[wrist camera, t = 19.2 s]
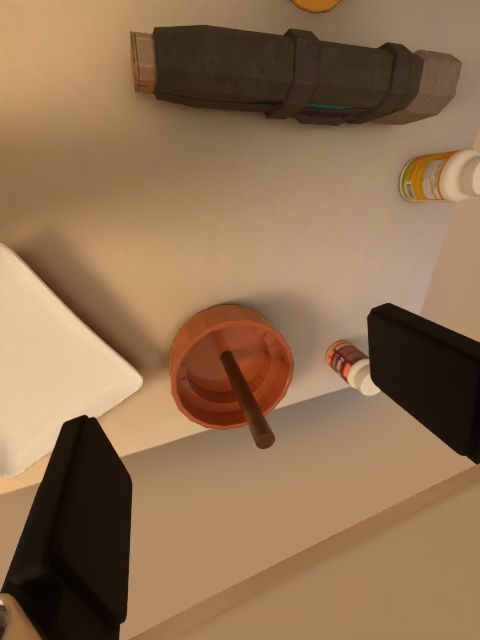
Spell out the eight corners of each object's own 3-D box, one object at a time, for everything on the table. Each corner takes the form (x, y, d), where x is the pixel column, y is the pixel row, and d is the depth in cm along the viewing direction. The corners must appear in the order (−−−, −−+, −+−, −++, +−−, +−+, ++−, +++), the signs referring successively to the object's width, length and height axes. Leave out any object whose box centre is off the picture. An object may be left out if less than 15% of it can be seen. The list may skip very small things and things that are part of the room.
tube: (134, 34, 29) (417, 52, 33) (145, 117, 33) (397, 125, 37) (112, 6, 20) (499, 35, 24) (130, 124, 24) (461, 133, 28)
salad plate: (19, 463, 40) (7, 485, 37) (-162, 354, 30) (-198, 372, 27) (150, 369, 40) (149, 383, 37) (11, 230, 30) (-6, 234, 27)
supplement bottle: (438, 164, 40) (519, 154, 31) (421, 206, 41) (493, 208, 33) (408, 150, 38) (484, 137, 29) (391, 195, 40) (458, 195, 31)
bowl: (190, 416, 44) (195, 446, 39) (151, 326, 38) (151, 348, 32) (284, 378, 46) (302, 402, 41) (263, 287, 40) (280, 302, 34)
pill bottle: (323, 346, 46) (356, 375, 38) (350, 335, 46) (389, 362, 39) (327, 371, 48) (359, 403, 40) (353, 360, 48) (390, 390, 41)
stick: (221, 364, 42) (258, 451, 27) (218, 353, 41) (254, 437, 26) (233, 360, 42) (276, 445, 28) (231, 349, 41) (273, 430, 27)
